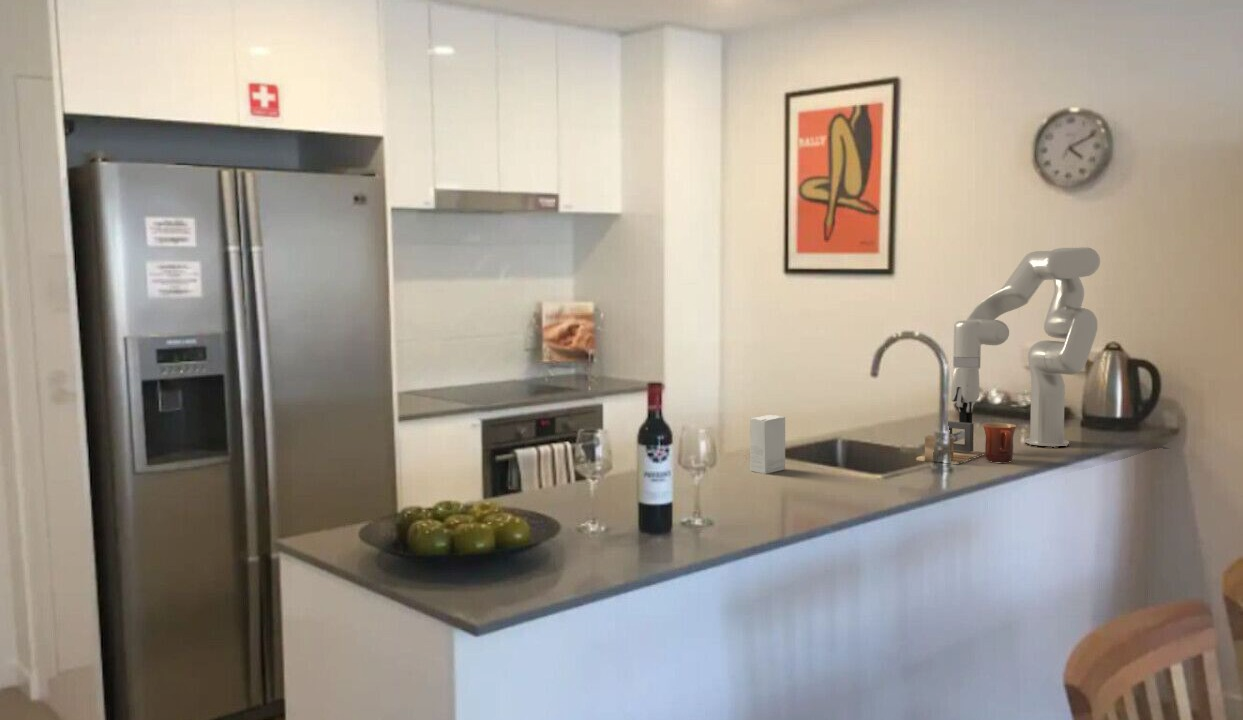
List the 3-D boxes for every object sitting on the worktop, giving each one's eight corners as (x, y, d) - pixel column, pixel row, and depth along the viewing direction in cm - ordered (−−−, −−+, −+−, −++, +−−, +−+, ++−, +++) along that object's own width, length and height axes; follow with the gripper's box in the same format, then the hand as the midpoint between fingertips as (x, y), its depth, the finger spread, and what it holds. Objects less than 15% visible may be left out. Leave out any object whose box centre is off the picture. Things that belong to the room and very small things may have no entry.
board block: (946, 450, 313) (946, 427, 313) (985, 454, 306) (986, 430, 305) (916, 460, 298) (916, 435, 298) (957, 465, 291) (957, 439, 290)
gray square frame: (946, 448, 309) (947, 420, 308) (973, 450, 304) (973, 423, 303) (943, 449, 307) (943, 421, 306) (969, 452, 302) (970, 424, 301)
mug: (978, 458, 299) (978, 423, 299) (1009, 458, 299) (1010, 422, 298) (992, 466, 287) (992, 429, 287) (1024, 466, 287) (1025, 429, 286)
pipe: (961, 437, 310) (961, 429, 310) (970, 438, 308) (970, 429, 308) (935, 446, 296) (935, 437, 296) (944, 447, 295) (944, 438, 294)
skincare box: (770, 467, 291) (770, 413, 290) (786, 470, 286) (786, 416, 285) (748, 471, 286) (748, 417, 284) (765, 474, 281) (765, 419, 280)
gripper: (964, 360, 315) (963, 421, 317) (943, 364, 304) (942, 427, 305) (989, 361, 310) (988, 423, 312) (968, 365, 299) (967, 429, 301)
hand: (965, 425), depth 309 cm, fingers closed
